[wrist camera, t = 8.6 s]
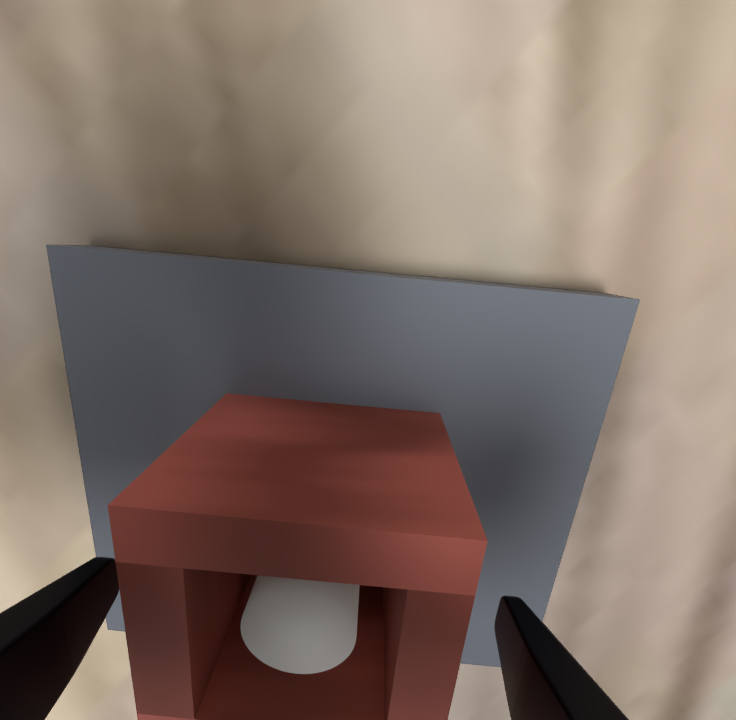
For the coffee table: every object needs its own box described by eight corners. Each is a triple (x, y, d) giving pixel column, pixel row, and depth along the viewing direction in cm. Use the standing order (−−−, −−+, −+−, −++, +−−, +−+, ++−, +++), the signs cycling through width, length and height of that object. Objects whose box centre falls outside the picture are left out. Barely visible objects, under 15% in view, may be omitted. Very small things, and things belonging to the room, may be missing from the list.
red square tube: (440, 413, 11) (487, 540, 6) (413, 580, 13) (434, 778, 8) (226, 393, 11) (107, 504, 6) (231, 563, 13) (142, 751, 8)
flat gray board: (606, 293, 11) (845, 338, 5) (513, 630, 15) (594, 859, 10) (89, 245, 11) (-214, 240, 6) (133, 593, 15) (-15, 800, 10)
